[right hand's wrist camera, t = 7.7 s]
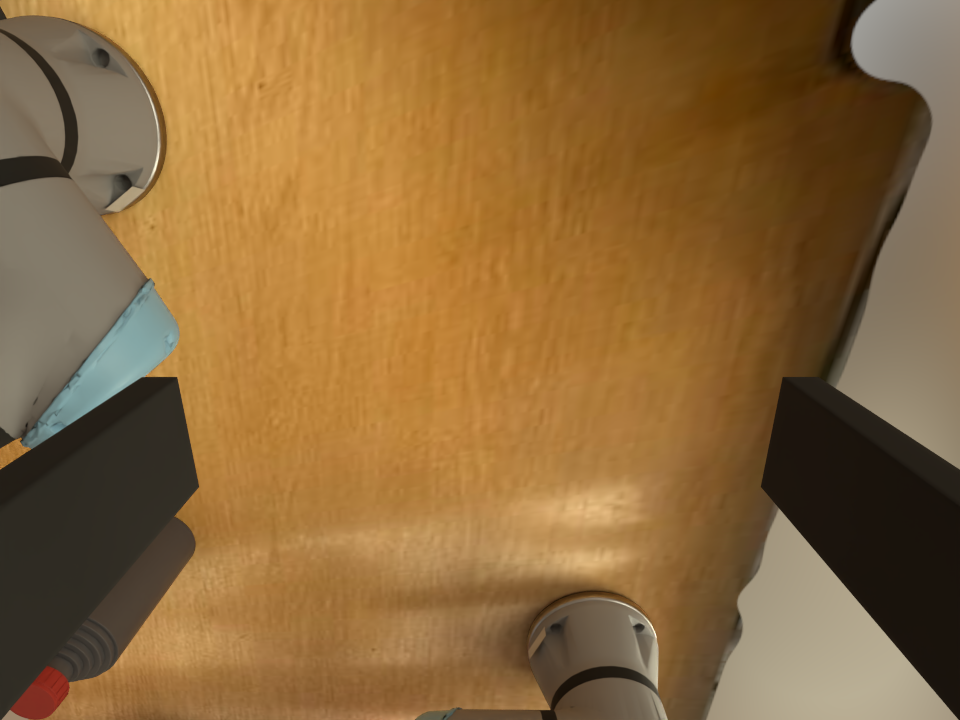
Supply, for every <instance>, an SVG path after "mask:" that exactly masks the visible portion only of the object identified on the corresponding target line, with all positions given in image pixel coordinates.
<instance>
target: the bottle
mask: <svg viewBox="0 0 960 720" xmlns="http://www.w3.org/2000/svg"><path fill="white" fill-rule="evenodd" d="M194 551H195V539H194V536H193V534H192V532H191V530H190V529H189V528H188V527H187V525H186V524H184V523H183V522H182V521H181V520H179V519H177V518H176V517H173V518H172V519H171V520H170V522H169V523H168V524H167V525H166V526H165V527H164V529H163V530H162V531H161V532H160V533H159V535H158V536H157V537H156V538H155V539H154V540H153V542H152V543H151V544H150V545H149V546H148V548H147V549H146V550H145V551H144V552H143V553H142V555H141V556H140V557H139V558H138V559H137V560H136V562H135V563H134V564H133V565H132V566H131V568H130V569H129V570H128V571H127V572H126V573H125V575H124V576H123V577H122V578H121V579H120V580H119V582H118V583H117V584H116V585H115V586H114V588H113V589H112V590H111V591H110V592H109V593H108V595H107V596H106V597H105V598H104V599H103V601H102V602H101V603H100V604H99V605H98V606H97V608H96V609H95V610H94V611H93V612H92V613H91V615H90V616H89V617H88V618H87V619H86V621H85V622H84V623H83V624H82V625H81V626H80V628H79V629H78V630H77V631H76V632H75V633H74V635H73V636H72V637H71V638H70V639H69V641H68V642H67V643H66V644H65V645H64V646H63V648H62V649H61V650H60V651H59V652H58V654H57V655H56V656H55V657H54V658H53V659H52V661H51V662H50V663H49V664H48V665H47V666H49V667H52V668H54V669H56V670H58V671H59V672H61V673H62V674H63V675H64V676H65V677H66V679H67V680H68V682H74V681H78V680H84V679H89V678H93V677H96V676H98V675H100V674H102V673H103V672H105V671H107V670H108V669H110V668H111V667H112V666H113V665H114V664H115V662H116V661H117V660H118V658H119V657H120V655H121V654H122V653H123V651H124V650H125V648H126V647H127V646H128V644H129V643H130V642H131V640H132V639H133V637H134V636H135V635H136V633H137V632H138V630H139V629H140V628H141V626H142V625H143V623H144V622H145V621H146V619H147V618H148V616H149V615H150V614H151V612H152V611H153V610H154V608H155V607H156V605H157V604H158V603H159V601H160V600H161V598H162V597H163V596H164V594H165V593H166V591H167V590H168V589H169V587H170V586H171V585H172V583H173V582H174V580H175V579H176V578H177V576H178V575H179V573H180V572H181V571H182V569H183V568H184V566H185V565H186V564H187V562H188V561H189V560H190V558H191V557H192V555H193V553H194Z"/></svg>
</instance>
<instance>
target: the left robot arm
mask: <svg viewBox="0 0 960 720" xmlns="http://www.w3.org/2000/svg"><path fill="white" fill-rule="evenodd" d="M166 144H167V143H166V127H165V121H164V116H163V113H162V109H161V106H160V103H159V101H158V98H157V96H156V93H155V91H154V89H153V87H152V86H151V84H150V82H149V80H148V79H147V77H146V76H145V74H144V73H143V71H142V70H141V69H140V67H139V66H138V65H137V64H136V62H135V61H134V60H133V59H132V58H131V57H130V56H129V55H128V54H127V53H126V52H125V51H124V50H123V49H122V48H121V47H119V46H118V45H117V44H116V43H114V42H113V41H112V40H110V39H109V38H107V37H105V36H104V35H102V34H101V33H99V32H97V31H95V30H93V29H90V28H88V27H86V26H83V25H80V24H77V23H74V22H71V21H68V20H64V19H60V18H55V17H46V16H19V17H14V18H9V19H7V18H6V16H5V14H4V13H3V11H2V9H1V7H0V448H2V447H3V446H5V445H7V444H8V443H10V442H12V441H14V440H15V439H18V438H20V437H21V438H22V440H21V441H20V442H21V444H22V445H23V446H24V447H29V448H31V449H33V448H34V447H36V446H37V445H39V444H40V443H42V442H43V441H45V440H46V439H48V438H50V437H51V436H53V435H54V434H56V433H57V432H59V431H60V430H62V429H63V428H65V427H66V426H68V425H69V424H71V423H72V422H74V421H76V420H77V419H79V418H80V417H82V416H83V415H85V414H86V413H88V412H89V411H91V410H92V409H94V408H95V407H97V406H98V405H100V404H101V403H103V402H105V401H106V400H108V399H109V398H111V397H112V396H114V395H115V394H117V393H118V392H120V391H121V390H123V389H124V388H126V387H127V386H129V385H131V384H132V383H134V382H135V381H137V380H138V379H140V378H141V377H145V376H146V375H147V374H148V373H149V372H151V371H152V370H153V369H154V368H155V367H156V366H158V365H159V364H160V363H161V362H162V361H163V360H164V359H165V358H166V357H168V356H169V355H170V354H171V352H172V351H173V350H174V349H175V347H176V345H177V343H178V340H179V327H178V324H177V322H176V320H175V319H174V317H173V316H172V314H171V313H170V311H169V310H168V308H167V307H166V305H165V304H164V302H163V301H162V299H161V298H160V296H159V295H158V293H157V292H156V290H155V289H154V284H155V283H154V282H153V281H152V279H151V278H150V279H147V278H146V276H145V275H144V274H143V272H142V271H141V270H140V268H139V267H138V266H137V264H136V263H135V261H134V260H133V259H132V257H131V256H130V255H129V253H128V252H127V251H126V249H125V248H124V247H123V245H122V244H121V243H120V241H119V240H118V239H117V237H116V236H115V235H114V233H113V232H112V231H111V229H110V228H109V227H108V225H107V224H106V223H105V221H104V220H103V219H102V217H101V216H100V215H106V214H111V213H116V212H120V211H122V210H125V209H127V208H129V207H131V206H133V205H134V204H136V203H137V202H139V201H140V200H141V199H142V198H144V197H145V196H146V195H147V194H148V192H149V191H150V190H151V189H152V187H153V186H154V185H155V183H156V181H157V179H158V178H159V175H160V173H161V171H162V167H163V164H164V160H165V155H166Z"/></svg>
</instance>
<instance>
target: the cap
mask: <svg viewBox="0 0 960 720" xmlns="http://www.w3.org/2000/svg"><path fill="white" fill-rule="evenodd" d="M69 688H70V687H69V683H68V680H67V679H66V677H65V676H64V675H63V674H62V673H61V672H59V671H58V670H56V669H54V668H52V667H49V666H46V668H45V669H44V670H43V671H42V672H41V674H40V675H39V676H38V677H37V678H36V679H35V681H34V682H33V683H32V684H31V685H30V687H29V688H28V689H27V690H26V691H25V692H24V694H23V695H22V696H21V697H20V698H19V699H18V701H17V702H16V703H15V704H14V705H13V707H12V708H11V709H10V710H11V711H12V712H14V713H15V714H17V715H19V716H21V717H24V718H28V719H43V718H46V717H48V716H50V715H51V714H52V713H53V712H54V711H55V710H56V708H57V707H58V706H59V705H60V704H61V702H62V701H63V700H64V698H65V697H66V696H67V695H68V691H69Z"/></svg>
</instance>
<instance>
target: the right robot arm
mask: <svg viewBox="0 0 960 720" xmlns="http://www.w3.org/2000/svg"><path fill="white" fill-rule="evenodd" d="M198 487H199V484H198V479H197V474H196V469H195V464H194V459H193V454H192V449H191V444H190V439H189V434H188V429H187V424H186V419H185V414H184V409H183V404H182V399H181V394H180V389H179V384H178V379H177V377H141V378H140V379H138V380H137V381H135V382H134V383H132V384H131V385H129V386H127V387H126V388H124V389H123V390H121V391H120V392H118V393H117V394H115V395H114V396H112V397H111V398H109V399H108V400H106V401H105V402H103V403H101V404H100V405H98V406H97V407H95V408H94V409H92V410H91V411H89V412H88V413H86V414H85V415H83V416H82V417H80V418H79V419H77V420H76V421H74V422H72V423H71V424H69V425H68V426H66V427H65V428H63V429H62V430H60V431H59V432H57V433H56V434H54V435H53V436H51V437H50V438H48V439H46V440H45V441H43V442H42V443H40V444H39V445H37V446H36V447H34V448H33V449H31V450H30V451H28V452H27V453H25V454H24V455H22V456H20V457H19V458H17V459H16V460H14V461H13V462H11V463H10V464H8V465H7V466H5V467H4V468H2V469H1V470H0V720H1V719H2V718H3V717H4V716H5V715H6V714H7V712H8V711H9V710H10V709H11V708H12V707H13V705H14V704H15V703H16V702H17V701H18V699H19V698H20V697H21V696H22V695H23V694H24V692H25V691H26V690H27V689H28V688H29V687H30V685H31V684H32V683H33V682H34V681H35V679H36V678H37V677H38V676H39V675H40V674H41V672H42V671H43V670H44V669H45V668H46V666H47V665H48V664H49V663H50V662H51V661H52V659H53V658H54V657H55V656H56V655H57V654H58V652H59V651H60V650H61V649H62V648H63V646H64V645H65V644H66V643H67V642H68V641H69V639H70V638H71V637H72V636H73V635H74V633H75V632H76V631H77V630H78V629H79V628H80V626H81V625H82V624H83V623H84V622H85V621H86V619H87V618H88V617H89V616H90V615H91V613H92V612H93V611H94V610H95V609H96V608H97V606H98V605H99V604H100V603H101V602H102V601H103V599H104V598H105V597H106V596H107V595H108V593H109V592H110V591H111V590H112V589H113V588H114V586H115V585H116V584H117V583H118V582H119V580H120V579H121V578H122V577H123V576H124V575H125V573H126V572H127V571H128V570H129V569H130V568H131V566H132V565H133V564H134V563H135V562H136V560H137V559H138V558H139V557H140V556H141V555H142V553H143V552H144V551H145V550H146V549H147V548H148V546H149V545H150V544H151V543H152V542H153V540H154V539H155V538H156V537H157V536H158V535H159V533H160V532H161V531H162V530H163V529H164V527H165V526H166V525H167V524H168V523H169V522H170V520H171V519H172V518H173V517H174V516H175V515H176V513H177V512H178V511H179V510H180V509H181V507H182V506H183V505H184V504H185V503H186V502H187V500H188V499H189V498H190V497H191V496H192V495H193V493H194V492H195V491H196V490H197V489H198ZM761 487H762V489H763V490H764V491H765V492H766V493H767V495H768V496H769V497H770V498H771V499H772V500H773V502H774V503H775V504H776V505H777V506H778V507H779V509H780V510H781V511H782V512H783V513H784V515H785V516H786V517H787V518H788V519H789V520H790V522H791V523H792V524H793V525H794V526H795V527H796V529H797V530H798V531H799V532H800V533H801V535H802V536H803V537H804V538H805V539H806V540H807V542H808V543H809V544H810V545H811V546H812V548H813V549H814V550H815V551H816V552H817V553H818V554H819V556H820V557H821V558H822V559H823V560H824V562H825V563H826V564H827V565H828V566H829V568H830V569H831V570H832V571H833V572H834V573H835V575H836V576H837V577H838V578H839V579H840V580H841V582H842V583H843V584H844V585H845V586H846V588H847V589H848V590H849V591H850V592H851V593H852V595H853V596H854V597H855V598H856V599H857V601H858V602H859V603H860V604H861V605H862V606H863V607H864V609H865V610H866V611H867V612H868V613H869V615H870V616H871V617H872V618H873V619H874V621H875V622H876V623H877V624H878V625H879V626H880V627H881V629H882V630H883V631H884V632H885V633H886V635H887V636H888V637H889V638H890V639H891V641H892V642H893V643H894V644H895V645H896V646H897V648H898V649H899V650H900V651H901V652H902V653H903V655H904V656H905V657H906V658H907V659H908V661H909V662H910V663H911V664H912V665H913V666H914V668H915V669H916V670H917V671H918V672H919V674H920V675H921V676H922V677H923V678H924V679H925V681H926V682H927V683H928V684H929V685H930V687H931V688H932V689H933V690H934V691H935V692H936V694H937V695H938V696H939V697H940V698H941V699H942V701H943V702H944V703H945V704H946V705H947V707H948V708H949V709H950V710H951V711H952V712H953V714H954V715H955V716H956V717H957V718H958V719H959V720H960V470H959V469H958V468H956V467H955V466H953V465H952V464H950V463H949V462H947V461H946V460H944V459H943V458H941V457H940V456H938V455H936V454H935V453H933V452H932V451H930V450H929V449H927V448H926V447H924V446H923V445H921V444H920V443H918V442H916V441H915V440H914V439H912V438H910V437H909V436H907V435H906V434H904V433H903V432H901V431H900V430H898V429H897V428H895V427H894V426H892V425H891V424H889V423H888V422H886V421H884V420H883V419H881V418H880V417H878V416H877V415H875V414H874V413H872V412H871V411H869V410H868V409H866V408H865V407H863V406H862V405H860V404H859V403H857V402H855V401H854V400H852V399H851V398H849V397H848V396H846V395H845V394H843V393H842V392H840V391H839V390H837V389H836V388H834V387H833V386H831V385H829V384H828V383H826V382H825V381H823V380H822V379H820V378H819V377H783V379H782V384H781V389H780V394H779V399H778V404H777V409H776V414H775V419H774V424H773V429H772V434H771V439H770V444H769V449H768V454H767V459H766V464H765V469H764V474H763V479H762V484H761ZM527 649H528V658H529V662H530V666H531V669H532V672H533V674H534V677H535V679H536V681H537V683H538V685H539V687H540V689H541V691H542V693H543V695H544V697H545V699H546V701H547V703H548V705H549V707H550V709H551V710H475V709H462V708H453V709H451V710H447V711H429V712H426V713H424V714H422V715H420V716H419V717H417V718H416V719H415V720H667V717H666V714H665V711H664V708H663V705H662V702H661V699H660V696H659V693H658V644H657V638H656V634H655V631H654V628H653V626H652V623H651V621H650V619H649V617H648V616H647V614H646V613H645V612H644V610H643V609H642V608H640V607H639V606H638V605H637V604H636V603H634V602H633V601H631V600H629V599H627V598H625V597H622V596H620V595H617V594H613V593H608V592H596V591H594V592H582V593H577V594H573V595H569V596H567V597H564V598H562V599H559V600H557V601H556V602H554V603H552V604H551V605H549V606H548V607H547V608H545V609H544V610H543V611H542V612H541V613H540V614H539V615H538V616H537V618H536V619H535V620H534V622H533V624H532V626H531V628H530V630H529V633H528V639H527Z"/></svg>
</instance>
